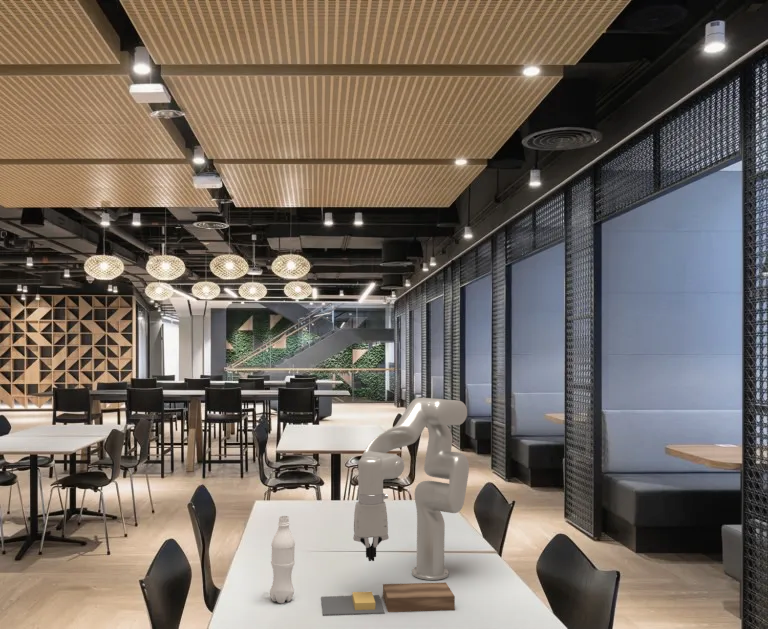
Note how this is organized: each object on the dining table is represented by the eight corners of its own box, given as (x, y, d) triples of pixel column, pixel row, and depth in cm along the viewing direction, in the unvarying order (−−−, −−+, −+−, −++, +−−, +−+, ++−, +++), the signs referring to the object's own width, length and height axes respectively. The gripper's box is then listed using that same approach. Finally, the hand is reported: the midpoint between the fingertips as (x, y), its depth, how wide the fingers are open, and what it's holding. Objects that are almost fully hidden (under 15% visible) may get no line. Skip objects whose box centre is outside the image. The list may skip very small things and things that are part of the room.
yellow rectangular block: (371, 591, 203) (371, 598, 203) (352, 592, 203) (352, 598, 202) (375, 602, 194) (375, 609, 194) (355, 603, 194) (354, 610, 194)
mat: (321, 597, 204) (321, 596, 204) (379, 596, 206) (379, 594, 206) (322, 615, 190) (322, 614, 190) (384, 613, 192) (384, 612, 192)
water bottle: (294, 596, 205) (296, 514, 207) (292, 604, 198) (294, 519, 200) (271, 595, 205) (273, 514, 206) (268, 604, 198) (270, 519, 199)
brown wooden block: (382, 597, 205) (382, 584, 206) (445, 595, 208) (445, 582, 208) (387, 612, 193) (387, 598, 194) (454, 610, 196) (454, 596, 196)
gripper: (393, 494, 205) (393, 554, 205) (345, 496, 204) (345, 556, 203) (396, 500, 198) (397, 562, 197) (347, 502, 196) (347, 565, 196)
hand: (371, 559), depth 200 cm, fingers closed
